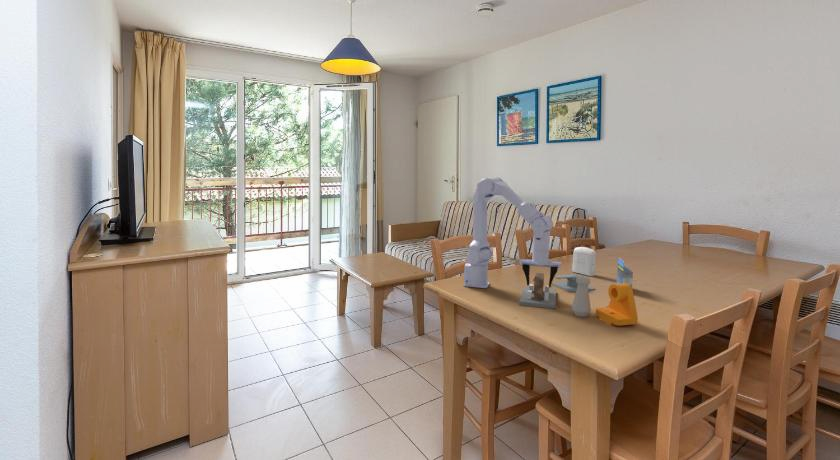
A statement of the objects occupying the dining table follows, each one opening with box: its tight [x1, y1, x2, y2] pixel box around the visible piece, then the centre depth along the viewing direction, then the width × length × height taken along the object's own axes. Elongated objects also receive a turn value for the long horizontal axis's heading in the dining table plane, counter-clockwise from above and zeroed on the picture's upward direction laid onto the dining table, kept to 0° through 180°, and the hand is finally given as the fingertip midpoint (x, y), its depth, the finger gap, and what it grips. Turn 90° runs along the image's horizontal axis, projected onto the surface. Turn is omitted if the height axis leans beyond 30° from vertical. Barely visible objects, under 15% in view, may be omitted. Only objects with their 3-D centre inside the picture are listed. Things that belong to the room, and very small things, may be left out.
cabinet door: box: [532, 272, 545, 301], centre depth 154 cm, size 4×12×7 cm, turn 162°
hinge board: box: [519, 283, 557, 309], centre depth 155 cm, size 12×20×4 cm, turn 162°
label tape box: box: [616, 257, 634, 288], centre depth 167 cm, size 9×4×12 cm, turn 168°
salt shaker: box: [571, 275, 591, 318], centre depth 137 cm, size 6×6×13 cm
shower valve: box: [551, 273, 596, 293], centre depth 170 cm, size 12×6×15 cm
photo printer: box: [571, 246, 597, 277], centre depth 192 cm, size 10×4×12 cm, turn 36°
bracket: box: [595, 283, 639, 326], centre depth 132 cm, size 11×7×12 cm, turn 15°
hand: (538, 285), depth 154 cm, fingers open, 7 cm apart
